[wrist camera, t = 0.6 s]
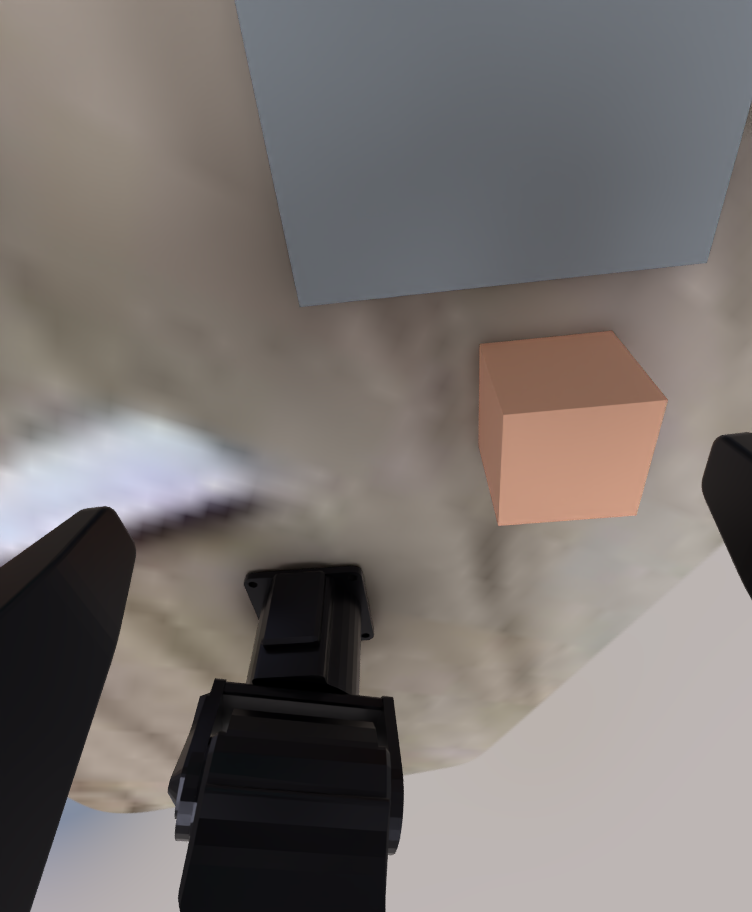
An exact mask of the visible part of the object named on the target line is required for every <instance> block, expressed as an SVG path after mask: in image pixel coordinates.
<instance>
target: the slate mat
mask: <svg viewBox="0 0 752 912" xmlns="http://www.w3.org/2000/svg"><path fill="white" fill-rule="evenodd" d="M235 5H236V9H237V14H238V19H239V23H240V28H241V33H242V37H243V42H244V47H245V52H246V56H247V61H248V66H249V70H250V75H251V80H252V84H253V89H254V94H255V99H256V103H257V108H258V113H259V117H260V122H261V127H262V131H263V136H264V141H265V146H266V150H267V155H268V160H269V164H270V169H271V174H272V179H273V183H274V188H275V193H276V197H277V202H278V207H279V211H280V216H281V221H282V226H283V230H284V235H285V240H286V244H287V249H288V254H289V258H290V263H291V268H292V273H293V277H294V282H295V287H296V291H297V296H298V301H299V306H300V307H305V306H314V305H323V304H332V303H342V302H351V301H360V300H369V299H379V298H388V297H397V296H406V295H415V294H425V293H434V292H443V291H452V290H461V289H471V288H480V287H489V286H498V285H508V284H517V283H526V282H535V281H544V280H554V279H563V278H572V277H581V276H590V275H600V274H609V273H618V272H627V271H637V270H646V269H655V268H664V267H673V266H683V265H692V264H701V263H707V261H708V257H709V253H710V250H711V246H712V243H713V239H714V235H715V232H716V228H717V224H718V221H719V217H720V214H721V210H722V206H723V203H724V199H725V196H726V192H727V188H728V185H729V181H730V177H731V174H732V170H733V167H734V163H735V159H736V156H737V152H738V149H739V145H740V141H741V138H742V134H743V130H744V127H745V123H746V120H747V116H748V112H749V109H750V105H751V102H752V0H235Z"/></svg>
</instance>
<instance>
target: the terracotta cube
mask: <svg viewBox="0 0 752 912" xmlns="http://www.w3.org/2000/svg"><path fill="white" fill-rule="evenodd" d="M667 402H668V399H667V398H666V397H665V396H664V394H663V393H662V392H661V391H660V389H659V388H658V387H657V386H656V385H655V383H654V382H653V381H652V380H651V378H650V377H649V376H648V375H647V373H646V372H645V371H644V370H643V368H642V367H641V366H640V365H639V364H638V362H637V361H636V360H635V359H634V357H633V356H632V355H631V354H630V352H629V351H628V350H627V349H626V347H625V346H624V345H623V344H622V342H621V341H620V340H619V339H618V338H617V336H616V335H615V334H614V333H613V331H603V332H593V333H584V334H574V335H564V336H554V337H544V338H534V339H524V340H514V341H504V342H494V343H484V344H480V351H479V450H480V454H481V458H482V462H483V466H484V470H485V474H486V478H487V482H488V486H489V490H490V494H491V498H492V502H493V506H494V510H495V514H496V518H497V522H498V526H502V525H516V524H529V523H542V522H555V521H568V520H581V519H595V518H608V517H621V516H634V515H637V511H638V507H639V504H640V500H641V497H642V493H643V489H644V486H645V482H646V478H647V475H648V471H649V467H650V464H651V460H652V456H653V453H654V449H655V445H656V442H657V438H658V435H659V431H660V427H661V424H662V420H663V416H664V413H665V409H666V405H667Z"/></svg>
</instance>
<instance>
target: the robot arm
mask: <svg viewBox="0 0 752 912" xmlns="http://www.w3.org/2000/svg"><path fill="white" fill-rule="evenodd" d="M702 492H703V495H704V498H705V500H706V503H707V505H708V507H709V509H710V512H711V514H712V516H713V518H714V521H715V523H716V525H717V527H718V530H719V532H720V534H721V536H722V538H723V541H724V543H725V545H726V547H727V550H728V552H729V554H730V556H731V559H732V561H733V563H734V565H735V568H736V569H737V572H738V574H739V576H740V578H741V580H742V582H743V584H744V586H745V588H746V590H747V592H748V594H749V595H750V597H751V599H752V433H749V432H744V433H735V434H727V435H721V436H719V437H718V438H716V440H715V441H714V442H713V445H712V448H711V451H710V454H709V458H708V461H707V464H706V468H705V471H704V475H703V478H702ZM135 558H136V548H135V544H134V541H133V539H132V538H131V536H130V534H129V533H128V531H127V529H126V528H125V526H124V525H123V523H122V521H121V520H120V518H119V516H118V515H117V513H116V512H115V511H114V510H113V509H112V508H110V507H106V506H103V507H94V508H86V509H83V510H80V511H79V512H77V513H76V514H75V515H73V516H72V517H70V518H69V519H68V520H66V521H65V522H63V523H62V524H61V525H59V526H58V527H56V528H55V529H54V530H52V531H51V532H49V533H48V534H47V535H45V536H44V537H42V538H41V539H40V540H38V541H37V542H35V543H34V544H33V545H31V546H30V547H28V548H27V549H26V550H24V551H23V552H21V553H20V554H19V555H17V556H16V557H14V558H13V559H12V560H10V561H9V562H7V563H6V564H5V565H3V566H2V567H0V912H30V910H31V907H32V904H33V901H34V898H35V895H36V892H37V889H38V886H39V883H40V880H41V877H42V874H43V871H44V867H45V864H46V861H47V858H48V855H49V852H50V849H51V846H52V843H53V840H54V837H55V834H56V830H57V828H58V825H59V821H60V818H61V815H62V812H63V809H64V806H65V803H66V800H67V797H68V794H69V791H70V788H71V785H72V782H73V778H74V775H75V772H76V769H77V766H78V763H79V760H80V757H81V754H82V751H83V748H84V745H85V742H86V739H87V736H88V732H89V729H90V726H91V723H92V720H93V717H94V714H95V711H96V708H97V705H98V702H99V699H100V696H101V693H102V690H103V686H104V683H105V680H106V677H107V674H108V671H109V668H110V665H111V662H112V659H113V655H114V652H115V649H116V645H117V641H118V637H119V633H120V629H121V624H122V619H123V615H124V610H125V605H126V601H127V596H128V591H129V586H130V582H131V577H132V572H133V568H134V563H135ZM244 586H245V589H246V591H247V593H248V596H249V598H250V600H251V603H252V605H253V607H254V610H255V612H256V614H257V617H258V619H259V623H258V627H257V632H256V637H255V642H254V647H253V652H252V657H251V661H250V666H249V671H248V676H247V681H246V684H245V683H235V682H226V679H217V678H215V680H214V683H213V686H212V689H211V692H210V693H208V694H205V695H202V696H200V698H199V702H198V706H197V709H196V713H195V717H194V720H193V724H192V727H191V730H190V733H189V736H188V738H187V741H186V743H185V745H184V748H183V750H182V752H181V755H180V757H179V759H178V762H177V764H176V767H175V769H174V771H173V774H172V776H171V779H170V782H169V786H168V794H169V796H170V798H171V799H172V801H173V803H174V804H175V806H176V807H175V819H177V820H176V827H175V840H176V841H189V844H188V850H187V854H186V859H185V864H184V869H183V874H182V878H181V884H180V888H179V895H178V902H179V908H180V912H385V895H386V876H387V859H388V855H393V854H395V852H396V850H397V847H398V844H399V840H400V834H401V828H402V819H403V804H404V803H403V802H404V786H403V771H402V763H401V755H400V747H399V739H398V731H397V724H396V716H395V708H394V700H393V697H388V696H382V697H381V698H379V697H369V696H360V695H359V683H360V650H361V641H362V640H370V639H372V638H373V637H374V628H373V623H372V618H371V613H370V608H369V603H368V598H367V593H366V588H365V583H364V578H363V573H362V570H361V569H360V568H359V567H356V566H344V567H330V568H316V569H302V570H288V571H273V572H259V573H250V574H247V575H246V577H245V580H244Z"/></svg>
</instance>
